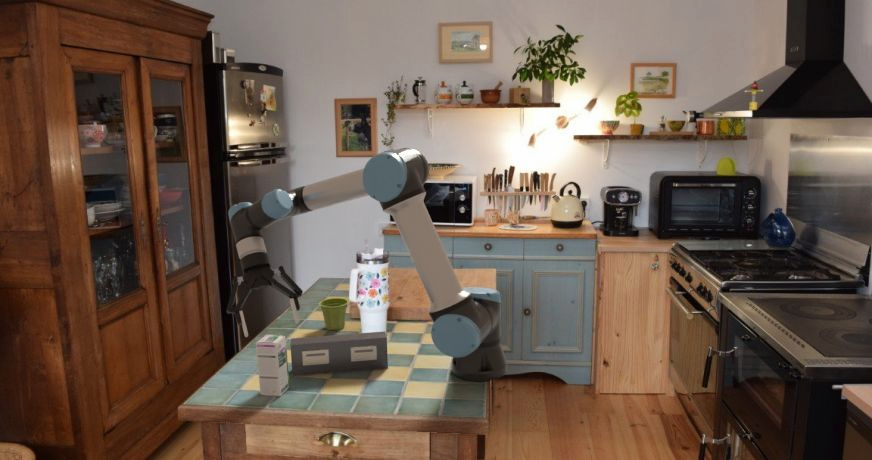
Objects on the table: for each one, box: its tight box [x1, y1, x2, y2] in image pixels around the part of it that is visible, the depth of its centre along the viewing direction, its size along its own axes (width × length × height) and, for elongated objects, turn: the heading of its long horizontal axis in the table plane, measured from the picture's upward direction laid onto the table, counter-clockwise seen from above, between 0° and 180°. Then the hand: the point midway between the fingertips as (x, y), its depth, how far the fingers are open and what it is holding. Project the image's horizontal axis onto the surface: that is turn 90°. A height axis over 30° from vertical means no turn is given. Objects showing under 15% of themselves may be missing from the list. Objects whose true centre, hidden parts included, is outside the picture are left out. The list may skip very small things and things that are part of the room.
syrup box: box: [255, 334, 291, 397], centre depth 174 cm, size 6×6×14 cm
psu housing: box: [290, 331, 389, 377], centre depth 188 cm, size 26×6×9 cm, turn 99°
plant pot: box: [318, 297, 349, 331], centre depth 222 cm, size 9×9×9 cm
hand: (272, 329), depth 180 cm, fingers open, 13 cm apart
